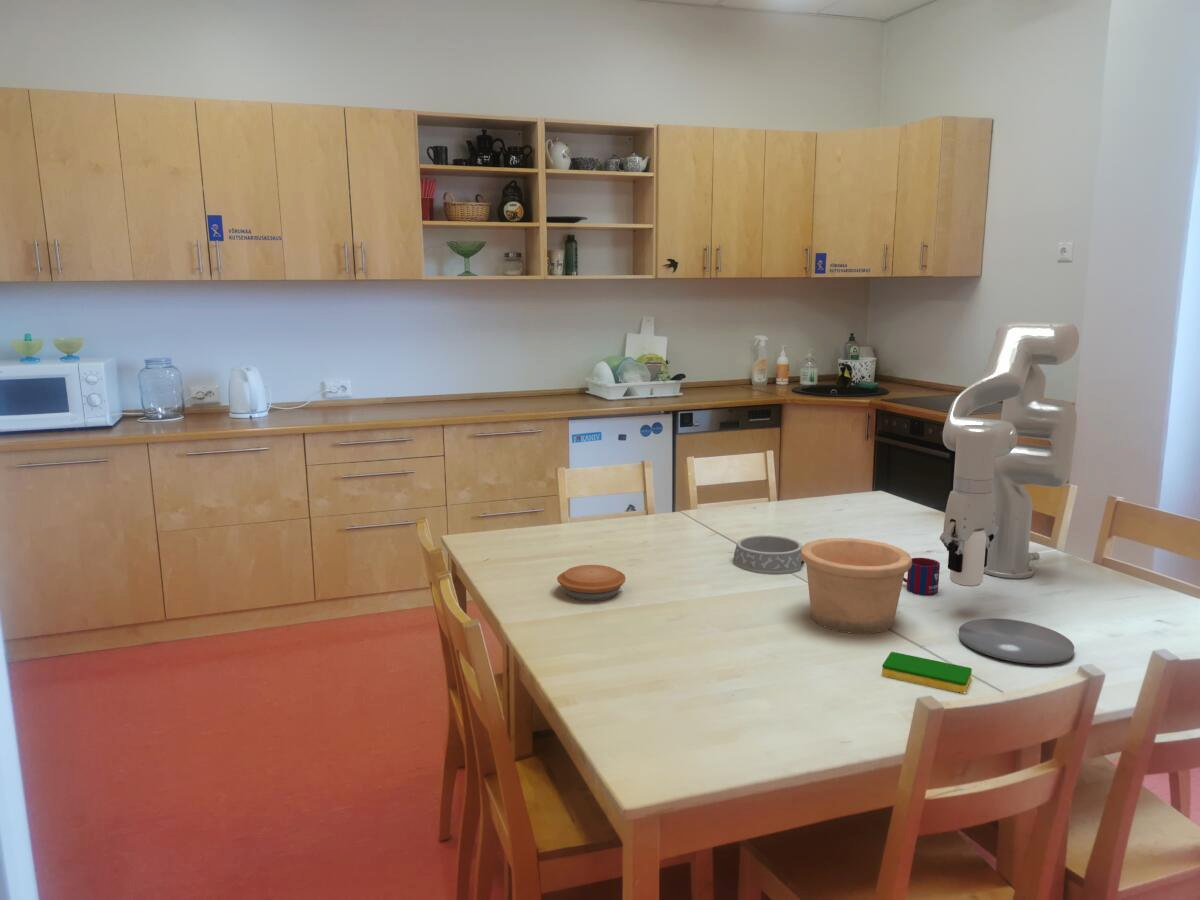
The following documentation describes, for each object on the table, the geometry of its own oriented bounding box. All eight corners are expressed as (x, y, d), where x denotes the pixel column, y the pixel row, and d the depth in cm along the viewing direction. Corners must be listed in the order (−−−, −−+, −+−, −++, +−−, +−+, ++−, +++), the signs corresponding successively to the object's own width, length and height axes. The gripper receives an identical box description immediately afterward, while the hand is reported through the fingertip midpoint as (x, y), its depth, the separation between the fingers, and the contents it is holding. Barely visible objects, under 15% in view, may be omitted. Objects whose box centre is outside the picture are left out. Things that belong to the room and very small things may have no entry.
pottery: (850, 647, 164) (854, 575, 161) (776, 610, 183) (778, 545, 180) (930, 627, 174) (935, 559, 171) (852, 594, 193) (856, 532, 190)
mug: (926, 597, 190) (928, 568, 189) (888, 585, 198) (889, 557, 197) (943, 591, 194) (946, 562, 193) (905, 580, 202) (907, 552, 201)
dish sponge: (964, 696, 145) (966, 683, 144) (881, 677, 152) (882, 664, 151) (971, 680, 151) (972, 667, 150) (890, 663, 158) (891, 650, 157)
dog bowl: (726, 570, 210) (727, 549, 209) (743, 550, 227) (743, 530, 226) (797, 579, 204) (797, 557, 203) (808, 557, 220) (809, 537, 219)
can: (943, 577, 183) (947, 523, 181) (972, 575, 184) (976, 521, 181) (958, 587, 177) (962, 532, 174) (988, 586, 177) (993, 530, 175)
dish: (1006, 618, 178) (1007, 612, 178) (1097, 654, 160) (1098, 647, 160) (935, 635, 170) (936, 628, 169) (1023, 675, 152) (1024, 667, 152)
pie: (636, 586, 198) (636, 566, 197) (608, 609, 184) (608, 586, 183) (576, 577, 204) (576, 557, 203) (545, 598, 191) (545, 577, 190)
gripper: (987, 476, 183) (981, 556, 187) (927, 486, 176) (922, 569, 179) (1018, 483, 176) (1011, 566, 180) (957, 494, 169) (951, 580, 173)
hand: (967, 567), depth 180 cm, fingers closed on can, 6 cm apart
